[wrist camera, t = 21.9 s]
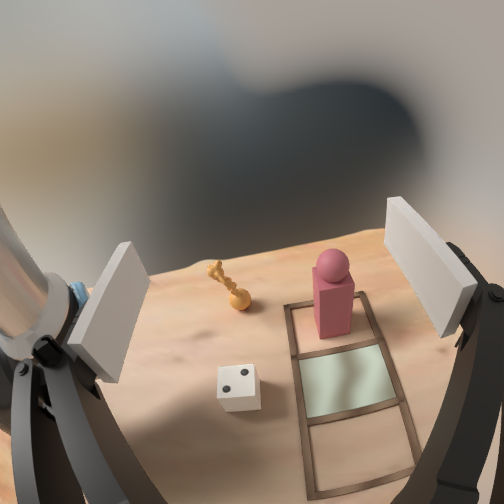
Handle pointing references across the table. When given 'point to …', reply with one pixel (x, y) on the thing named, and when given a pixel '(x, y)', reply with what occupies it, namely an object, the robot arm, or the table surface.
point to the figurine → (230, 287)
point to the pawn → (332, 294)
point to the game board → (345, 392)
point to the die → (238, 388)
